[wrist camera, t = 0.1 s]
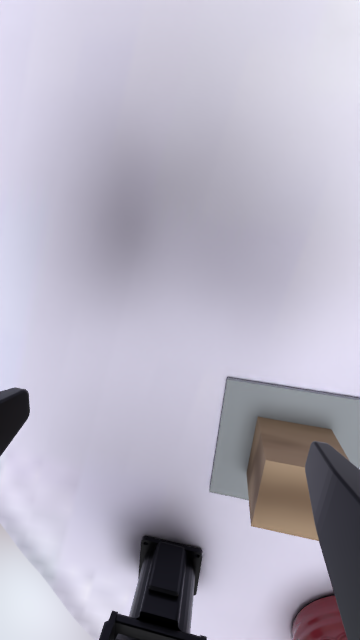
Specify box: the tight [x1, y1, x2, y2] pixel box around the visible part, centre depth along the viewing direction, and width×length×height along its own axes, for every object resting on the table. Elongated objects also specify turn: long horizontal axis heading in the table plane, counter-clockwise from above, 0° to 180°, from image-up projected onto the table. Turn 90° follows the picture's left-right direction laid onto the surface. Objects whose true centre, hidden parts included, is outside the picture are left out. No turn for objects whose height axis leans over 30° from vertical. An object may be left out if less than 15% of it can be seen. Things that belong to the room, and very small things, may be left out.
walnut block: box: [246, 417, 349, 541], centre depth 22 cm, size 6×6×5 cm
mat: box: [210, 377, 360, 500], centre depth 24 cm, size 12×12×1 cm
